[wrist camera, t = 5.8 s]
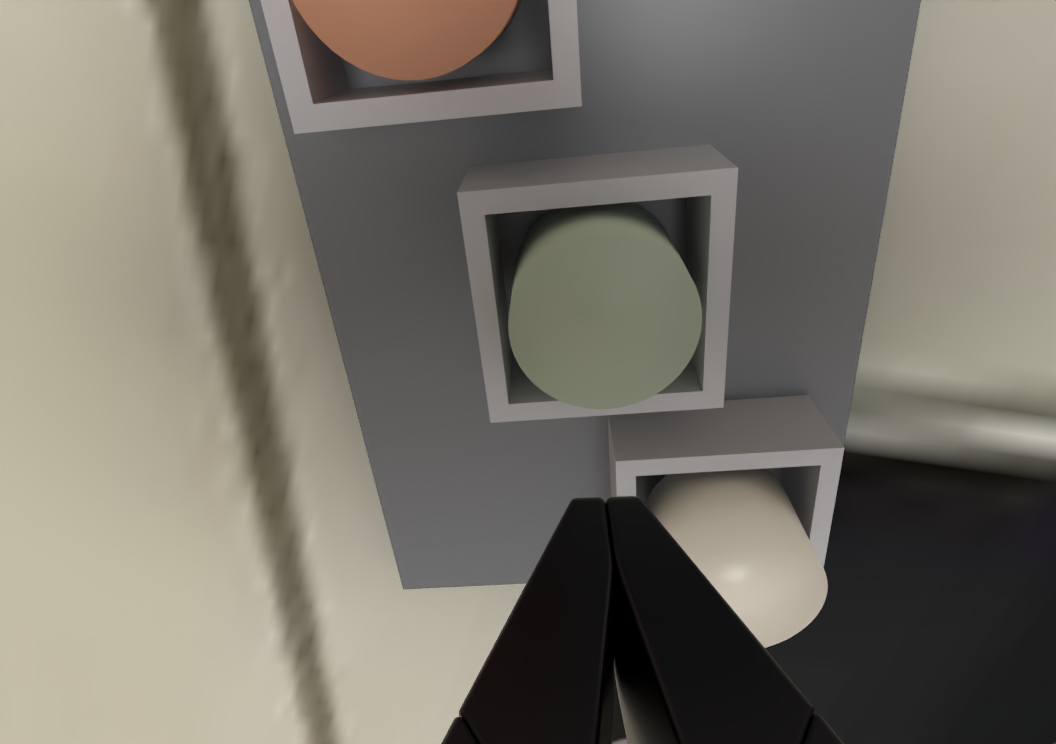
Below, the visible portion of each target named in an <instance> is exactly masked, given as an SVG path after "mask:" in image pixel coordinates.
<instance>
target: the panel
mask: <svg viewBox="0 0 1056 744" xmlns="http://www.w3.org/2000/svg"><path fill="white" fill-rule="evenodd" d="M920 2H921V0H521V3H520V5H519V7H518V10H517V12H516V14H515V16H514V18H513V19H512V21H511V23H510V24H509V26H508V27H507V29H506V30H505V31H504V33H503V34H502V35H501V36H500V37H499V39H498V40H497V41H495V42H494V43H493V44H492V45H491V46H490V47H489V48H488V49H486V50H485V51H483V52H482V53H480V54H479V55H478V56H476V57H475V58H473V59H472V60H470V61H469V62H468V63H466V64H465V65H463V66H462V67H460V68H458V69H456V70H454V71H452V72H450V73H447V74H444V75H441V76H438V77H435V78H429V79H423V80H397V79H389V78H385V77H382V76H378V75H374V74H372V73H369V72H367V71H364V70H362V69H360V68H358V67H356V66H354V65H353V64H351V63H349V62H347V61H346V60H344V59H343V58H342V57H340V56H339V55H337V54H336V53H335V52H333V51H332V50H331V49H330V48H329V47H328V46H327V45H326V44H325V43H324V42H322V41H321V40H320V39H319V38H318V36H317V35H316V34H315V33H314V32H313V31H312V29H311V28H310V27H309V26H308V25H307V23H306V22H305V20H304V19H303V17H302V16H301V14H300V13H299V11H298V10H297V8H296V6H295V4H294V2H293V1H292V0H249V3H250V7H251V10H252V14H253V18H254V22H255V26H256V29H257V33H258V37H259V41H260V45H261V49H262V52H263V56H264V60H265V64H266V68H267V71H268V75H269V79H270V83H271V87H272V90H273V94H274V98H275V102H276V106H277V110H278V113H279V117H280V121H281V125H282V129H283V132H284V136H285V140H286V144H287V148H288V152H289V155H290V159H291V163H292V167H293V171H294V174H295V178H296V182H297V186H298V190H299V193H300V197H301V201H302V205H303V209H304V213H305V216H306V220H307V224H308V228H309V232H310V235H311V239H312V243H313V247H314V251H315V254H316V258H317V262H318V266H319V270H320V274H321V277H322V281H323V285H324V289H325V293H326V296H327V300H328V304H329V308H330V312H331V315H332V319H333V323H334V327H335V331H336V335H337V338H338V342H339V346H340V350H341V354H342V357H343V361H344V365H345V369H346V373H347V376H348V380H349V384H350V388H351V392H352V396H353V399H354V403H355V407H356V411H357V415H358V418H359V422H360V426H361V430H362V434H363V437H364V441H365V445H366V449H367V453H368V457H369V460H370V464H371V468H372V472H373V476H374V479H375V483H376V487H377V491H378V495H379V498H380V502H381V506H382V510H383V514H384V518H385V521H386V525H387V529H388V533H389V537H390V540H391V544H392V548H393V552H394V556H395V559H396V563H397V567H398V571H399V575H400V579H401V582H402V586H403V589H420V588H440V587H461V586H482V585H502V584H523V583H527V582H528V580H529V578H530V576H531V574H532V573H533V571H534V569H535V567H536V565H537V563H538V561H539V559H540V557H541V556H542V554H543V552H544V550H545V548H546V546H547V544H548V542H549V541H550V539H551V537H552V535H553V533H554V531H555V529H556V527H557V525H558V524H559V522H560V520H561V518H562V516H563V514H564V512H565V510H566V508H567V507H568V505H569V503H570V501H571V500H572V499H574V498H584V497H601V498H603V499H604V500H605V503H606V500H607V499H608V498H609V497H618V496H637V497H639V498H640V499H641V500H642V501H643V502H644V503H646V501H647V499H648V496H649V495H650V493H651V491H652V490H653V488H654V487H655V486H656V485H657V484H658V482H660V481H661V480H662V479H663V478H664V477H665V476H666V475H668V474H680V473H697V472H714V471H731V470H748V469H765V468H767V469H768V470H769V471H771V472H772V473H773V474H774V475H775V476H776V477H777V478H778V480H779V481H780V482H781V484H782V486H783V488H784V490H785V492H786V494H787V496H788V498H789V500H790V502H791V504H792V506H793V508H794V510H795V512H796V514H797V516H798V518H799V520H800V522H801V524H802V526H803V528H804V530H805V532H806V534H807V536H808V538H809V540H810V542H811V544H812V546H813V548H814V550H815V553H816V555H817V557H818V559H819V561H820V563H821V565H822V567H823V568H824V562H825V556H826V551H827V545H828V539H829V533H830V528H831V522H832V516H833V511H834V505H835V499H836V493H837V488H838V482H839V476H840V470H841V465H842V459H843V453H844V440H845V434H846V429H847V423H848V417H849V411H850V406H851V400H852V394H853V388H854V383H855V377H856V371H857V365H858V359H859V354H860V348H861V342H862V336H863V331H864V325H865V319H866V313H867V308H868V302H869V296H870V290H871V285H872V279H873V273H874V267H875V261H876V256H877V250H878V244H879V238H880V233H881V227H882V221H883V215H884V210H885V204H886V198H887V192H888V187H889V181H890V175H891V169H892V163H893V158H894V152H895V146H896V140H897V135H898V129H899V123H900V117H901V112H902V106H903V100H904V94H905V89H906V83H907V77H908V71H909V65H910V60H911V54H912V48H913V42H914V37H915V31H916V25H917V19H918V14H919V8H920ZM627 202H634V203H636V204H638V205H640V206H642V207H643V208H645V209H646V210H647V211H649V212H650V213H651V214H653V215H654V216H655V218H656V219H657V220H658V221H659V222H660V223H661V224H662V226H663V227H664V228H665V230H666V231H667V233H668V235H669V237H670V239H671V241H672V243H673V244H674V246H675V248H676V250H677V252H678V254H679V256H680V257H681V259H682V261H683V263H684V265H685V267H686V268H687V270H688V272H689V274H690V276H691V278H692V280H693V282H694V284H695V285H696V288H697V291H698V294H699V297H700V301H701V307H702V327H701V334H700V338H699V342H698V345H697V347H696V350H695V352H694V354H693V356H692V358H691V359H690V361H689V363H688V365H687V366H686V367H685V369H684V370H683V371H682V372H681V374H680V375H679V376H678V377H677V378H676V379H675V380H674V381H673V382H672V383H671V384H669V385H668V386H667V387H666V388H664V389H663V390H661V391H660V392H658V393H657V394H655V395H654V396H652V397H650V398H648V399H645V400H643V401H641V402H638V403H635V404H632V405H629V406H624V407H620V408H612V409H589V408H582V407H577V406H573V405H570V404H567V403H564V402H561V401H559V400H557V399H555V398H553V397H551V396H550V395H548V394H546V393H545V392H543V391H542V390H541V389H539V388H538V387H537V386H536V385H535V384H533V382H532V381H531V380H530V379H529V378H528V377H527V376H526V375H525V373H524V372H523V371H522V369H521V368H520V366H519V364H518V362H517V360H516V358H515V356H514V354H513V351H512V348H511V344H510V339H509V331H508V320H509V310H510V302H511V294H512V285H513V277H514V269H515V261H516V257H517V253H518V250H519V248H520V245H521V242H522V241H523V239H524V237H525V235H526V233H527V232H528V231H529V229H530V228H531V227H532V225H533V224H534V223H535V222H536V221H537V220H538V219H539V218H540V217H541V216H542V215H544V214H545V213H546V212H547V211H549V210H550V209H557V208H569V207H580V206H592V205H604V204H615V203H627Z"/></svg>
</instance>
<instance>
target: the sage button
mask: <svg viewBox="0 0 1056 744" xmlns="http://www.w3.org/2000/svg"><path fill="white" fill-rule="evenodd" d="M701 327H702V307H701V301H700V297H699V294H698V291H697V288H696V285H695V284H694V282H693V280H692V278H691V276H690V274H689V272H688V270H687V268H686V267H685V265H684V263H683V261H682V259H681V257H680V256H679V254H678V252H677V250H676V248H675V246H674V244H673V243H672V241H671V239H670V237H669V235H668V233H667V231H666V230H665V228H664V227H663V226H662V224H661V223H660V222H659V221H658V220H657V219H656V218H655V216H654V215H653V214H651V213H650V212H649V211H647V210H646V209H645V208H643V207H642V206H640V205H638V204H636V203H634V202H627V203H615V204H604V205H592V206H580V207H569V208H557V209H550V210H549V211H547V212H546V213H545V214H544V215H542V216H541V217H540V218H539V219H538V220H537V221H536V222H535V223H534V224H533V225H532V227H531V228H530V229H529V231H528V232H527V233H526V235H525V237H524V239H523V241H522V242H521V245H520V248H519V250H518V253H517V257H516V261H515V269H514V277H513V285H512V294H511V302H510V310H509V320H508V331H509V339H510V344H511V348H512V351H513V354H514V356H515V358H516V360H517V362H518V364H519V366H520V368H521V369H522V371H523V372H524V373H525V375H526V376H527V377H528V378H529V379H530V380H531V381H532V382H533V384H535V385H536V386H537V387H538V388H539V389H541V390H542V391H543V392H545V393H546V394H548V395H550V396H551V397H553V398H555V399H557V400H559V401H561V402H564V403H567V404H570V405H573V406H577V407H582V408H589V409H612V408H620V407H624V406H629V405H632V404H635V403H638V402H641V401H643V400H645V399H648V398H650V397H652V396H654V395H655V394H657V393H658V392H660V391H661V390H663V389H664V388H666V387H667V386H668V385H669V384H671V383H672V382H673V381H674V380H675V379H676V378H677V377H678V376H679V375H680V374H681V372H682V371H683V370H684V369H685V367H686V366H687V365H688V363H689V361H690V359H691V358H692V356H693V354H694V352H695V350H696V347H697V345H698V342H699V338H700V334H701Z"/></svg>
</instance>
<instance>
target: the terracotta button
mask: <svg viewBox="0 0 1056 744" xmlns="http://www.w3.org/2000/svg"><path fill="white" fill-rule="evenodd" d="M292 1H293V2H294V4H295V6H296V8H297V10H298V11H299V13H300V14H301V16H302V17H303V19H304V20H305V22H306V23H307V25H308V26H309V27H310V28H311V29H312V31H313V32H314V33H315V34H316V35H317V36H318V38H319V39H320V40H321V41H322V42H324V43H325V44H326V45H327V46H328V47H329V48H330V49H331V50H332V51H333V52H335V53H336V54H337V55H339V56H340V57H342V58H343V59H344V60H346V61H347V62H349V63H351V64H353V65H354V66H356V67H358V68H360V69H362V70H364V71H367V72H369V73H372V74H374V75H378V76H382V77H385V78H389V79H397V80H423V79H429V78H435V77H438V76H441V75H444V74H447V73H450V72H452V71H454V70H456V69H458V68H460V67H462V66H463V65H465V64H466V63H468V62H469V61H470V60H472V59H473V58H475V57H476V56H478V55H479V54H480V53H482V52H483V51H485V50H486V49H488V48H489V47H490V46H491V45H492V44H493V43H494V42H495V41H497V40H498V39H499V37H500V36H501V35H502V34H503V33H504V31H505V30H506V29H507V27H508V26H509V24H510V23H511V21H512V19H513V18H514V16H515V14H516V12H517V10H518V7H519V5H520V3H521V0H292Z"/></svg>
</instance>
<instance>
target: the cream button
mask: <svg viewBox="0 0 1056 744" xmlns="http://www.w3.org/2000/svg"><path fill="white" fill-rule="evenodd" d="M645 504H646V505H647V507H648V508H649V509H650V510H651V511H652V513H653V514H654V515H655V516H656V518H657V519H658V520H659V521H660V522H661V524H662V525H663V526H664V527H665V528H666V530H667V531H668V532H669V533H670V534H671V536H672V537H673V538H674V539H675V540H676V542H677V543H678V544H679V545H680V546H681V548H682V549H683V550H684V551H685V552H686V554H687V555H688V556H689V557H690V558H691V560H692V561H693V562H694V563H695V565H696V566H697V567H698V568H699V569H700V571H701V572H702V573H703V574H704V575H705V577H706V578H707V579H708V580H709V581H710V583H711V584H712V585H713V586H714V587H715V589H716V590H717V591H718V592H719V593H720V595H721V596H722V597H723V598H724V599H725V601H726V602H727V603H728V604H729V605H730V607H731V608H732V609H733V610H734V611H735V613H736V614H737V615H738V616H739V618H740V619H741V620H742V621H743V622H744V624H745V625H746V626H747V627H748V628H749V630H750V631H751V632H752V633H753V634H754V636H755V637H756V638H757V639H758V640H759V642H760V643H761V644H762V645H763V646H764V648H765V647H769V646H772V645H775V644H778V643H780V642H782V641H784V640H787V639H788V638H790V637H792V636H794V635H795V634H797V633H798V632H800V631H801V630H803V629H804V628H805V627H806V626H807V625H808V624H810V623H811V622H812V620H813V619H814V618H815V617H816V616H817V614H818V613H819V611H820V610H821V608H822V606H823V604H824V602H825V599H826V595H827V588H828V584H827V577H826V574H825V571H824V569H823V567H822V565H821V563H820V561H819V559H818V557H817V555H816V553H815V550H814V548H813V546H812V544H811V542H810V540H809V538H808V536H807V534H806V532H805V530H804V528H803V526H802V524H801V522H800V520H799V518H798V516H797V514H796V512H795V510H794V508H793V506H792V504H791V502H790V500H789V498H788V496H787V494H786V492H785V490H784V488H783V486H782V484H781V482H780V481H779V480H778V478H777V477H776V476H775V475H774V474H773V473H772V472H771V471H769V470H768V469H767V468H765V469H748V470H731V471H714V472H697V473H680V474H668V475H666V476H665V477H664V478H663V479H662V480H661V481H660V482H658V484H657V485H656V486H655V487H654V488H653V490H652V491H651V493H650V495H649V496H648V499H647V501H646V503H645Z"/></svg>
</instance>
